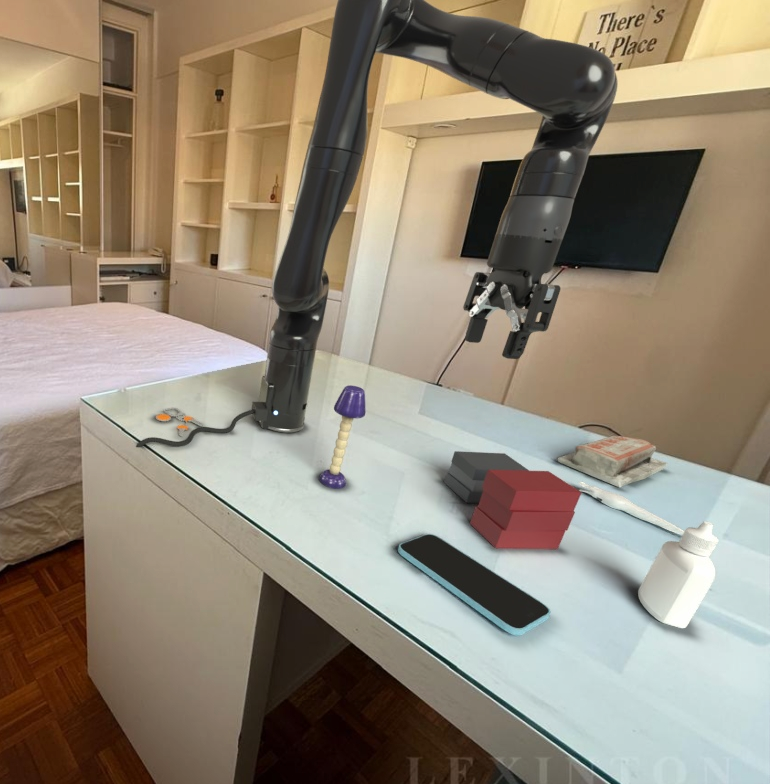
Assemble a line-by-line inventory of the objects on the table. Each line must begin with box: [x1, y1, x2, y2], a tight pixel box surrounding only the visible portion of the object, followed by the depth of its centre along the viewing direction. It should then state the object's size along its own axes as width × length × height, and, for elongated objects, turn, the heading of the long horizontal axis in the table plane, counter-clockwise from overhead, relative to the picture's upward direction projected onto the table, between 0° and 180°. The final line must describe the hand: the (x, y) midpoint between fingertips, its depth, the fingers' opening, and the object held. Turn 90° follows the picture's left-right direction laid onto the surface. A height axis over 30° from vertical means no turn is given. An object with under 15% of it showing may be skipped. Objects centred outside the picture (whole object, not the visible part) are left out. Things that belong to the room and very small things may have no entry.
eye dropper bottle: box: [637, 520, 720, 629], centre depth 50 cm, size 4×6×12 cm
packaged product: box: [557, 435, 668, 488], centre depth 85 cm, size 18×5×10 cm
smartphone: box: [397, 533, 552, 636], centre depth 54 cm, size 7×1×15 cm
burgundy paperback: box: [482, 470, 583, 512], centre depth 61 cm, size 9×5×3 cm, turn 93°
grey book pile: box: [443, 450, 530, 504], centre depth 73 cm, size 9×6×6 cm
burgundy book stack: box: [469, 490, 576, 550], centre depth 63 cm, size 9×6×6 cm, turn 93°
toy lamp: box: [318, 384, 366, 490], centre depth 72 cm, size 5×5×17 cm
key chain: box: [155, 407, 203, 437], centre depth 93 cm, size 13×7×1 cm, turn 30°
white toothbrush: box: [578, 481, 685, 536], centre depth 71 cm, size 15×3×2 cm, turn 22°
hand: (490, 349), depth 67 cm, fingers open, 8 cm apart
